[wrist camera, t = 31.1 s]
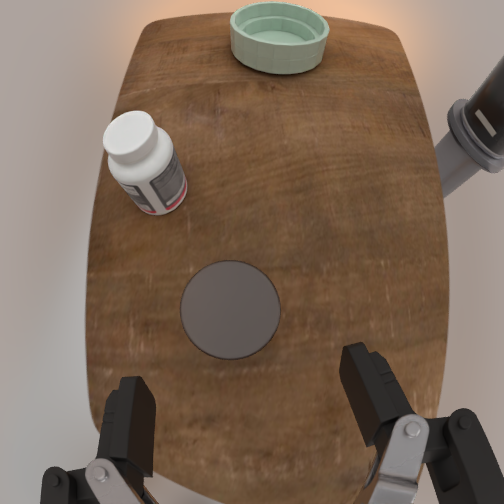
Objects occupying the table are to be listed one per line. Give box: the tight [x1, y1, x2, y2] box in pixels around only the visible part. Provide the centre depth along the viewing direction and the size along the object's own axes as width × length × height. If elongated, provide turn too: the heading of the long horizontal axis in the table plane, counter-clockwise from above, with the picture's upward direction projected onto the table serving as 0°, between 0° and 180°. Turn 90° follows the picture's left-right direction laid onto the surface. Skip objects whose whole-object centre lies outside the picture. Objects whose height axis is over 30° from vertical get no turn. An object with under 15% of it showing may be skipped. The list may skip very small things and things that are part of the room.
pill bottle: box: [103, 111, 187, 215], centre depth 23 cm, size 5×5×10 cm
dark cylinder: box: [180, 260, 281, 360], centre depth 17 cm, size 3×3×16 cm
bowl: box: [230, 1, 330, 74], centre depth 31 cm, size 12×12×6 cm
